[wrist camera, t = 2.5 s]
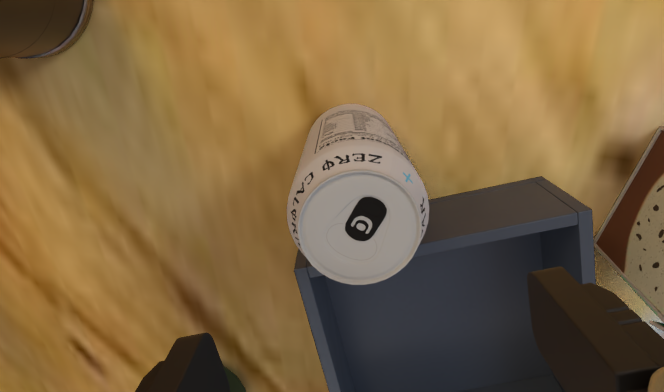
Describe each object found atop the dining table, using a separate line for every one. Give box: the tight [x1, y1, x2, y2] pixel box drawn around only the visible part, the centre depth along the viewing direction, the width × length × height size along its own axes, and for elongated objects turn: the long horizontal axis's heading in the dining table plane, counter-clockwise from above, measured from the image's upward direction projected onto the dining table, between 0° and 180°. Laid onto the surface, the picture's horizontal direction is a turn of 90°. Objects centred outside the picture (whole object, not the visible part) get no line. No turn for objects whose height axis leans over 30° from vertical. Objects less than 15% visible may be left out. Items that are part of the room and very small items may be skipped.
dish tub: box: [294, 176, 596, 392], centre depth 33 cm, size 18×18×7 cm
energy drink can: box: [287, 104, 429, 285], centre depth 25 cm, size 6×6×15 cm
